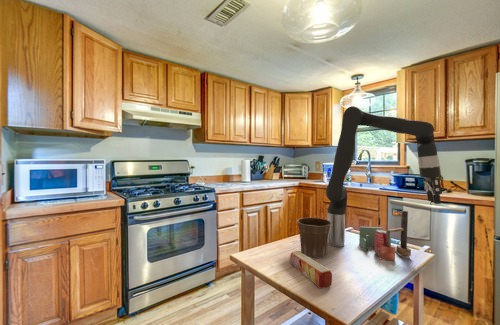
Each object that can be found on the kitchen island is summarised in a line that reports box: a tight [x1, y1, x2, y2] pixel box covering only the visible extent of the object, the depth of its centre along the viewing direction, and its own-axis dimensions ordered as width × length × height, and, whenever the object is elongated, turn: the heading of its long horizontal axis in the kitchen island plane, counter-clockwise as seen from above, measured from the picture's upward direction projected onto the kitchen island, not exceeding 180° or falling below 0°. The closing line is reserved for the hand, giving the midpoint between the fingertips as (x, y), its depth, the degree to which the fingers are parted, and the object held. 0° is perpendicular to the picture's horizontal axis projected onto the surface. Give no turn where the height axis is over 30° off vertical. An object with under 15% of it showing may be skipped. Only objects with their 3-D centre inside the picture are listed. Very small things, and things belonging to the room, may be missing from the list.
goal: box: [358, 226, 384, 252], centre depth 125 cm, size 12×10×10 cm
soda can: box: [373, 229, 392, 257], centre depth 116 cm, size 7×7×12 cm
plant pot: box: [296, 217, 331, 259], centre depth 117 cm, size 16×16×16 cm
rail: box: [391, 244, 411, 259], centre depth 120 cm, size 3×15×1 cm, turn 175°
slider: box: [379, 210, 412, 261], centre depth 114 cm, size 15×8×22 cm, turn 85°
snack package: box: [289, 250, 333, 289], centre depth 95 cm, size 21×7×7 cm, turn 21°
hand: (434, 202), depth 105 cm, fingers open, 8 cm apart
